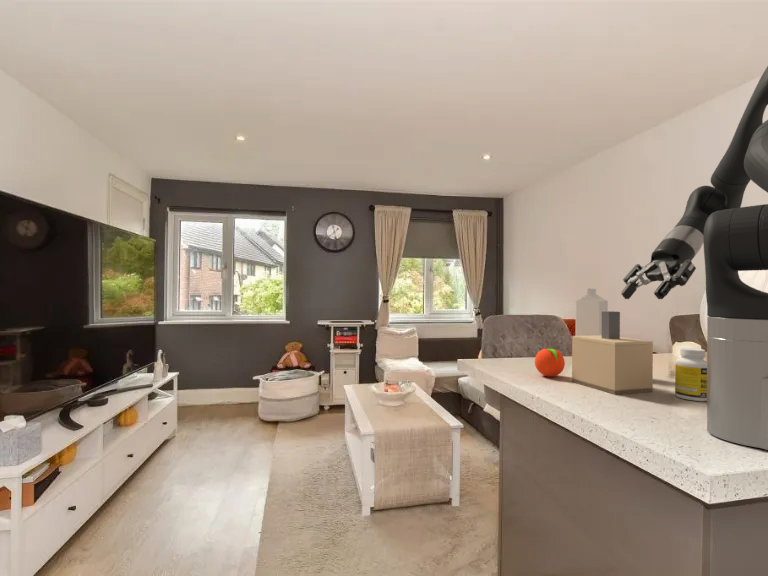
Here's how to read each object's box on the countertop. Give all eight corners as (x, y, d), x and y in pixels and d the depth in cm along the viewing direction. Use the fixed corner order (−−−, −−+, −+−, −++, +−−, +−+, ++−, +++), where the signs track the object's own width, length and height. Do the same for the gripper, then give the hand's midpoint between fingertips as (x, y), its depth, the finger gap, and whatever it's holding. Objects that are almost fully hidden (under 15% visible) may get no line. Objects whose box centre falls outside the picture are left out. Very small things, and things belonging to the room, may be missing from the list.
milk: (607, 372, 106) (608, 288, 106) (599, 375, 102) (600, 288, 102) (583, 368, 111) (584, 288, 111) (574, 371, 106) (575, 288, 107)
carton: (652, 391, 85) (652, 344, 85) (614, 394, 82) (614, 345, 82) (606, 379, 96) (606, 338, 97) (572, 381, 94) (572, 338, 94)
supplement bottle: (705, 403, 76) (705, 351, 76) (671, 397, 80) (671, 348, 80) (712, 399, 80) (712, 349, 80) (679, 393, 84) (679, 346, 84)
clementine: (571, 380, 95) (572, 350, 95) (542, 380, 95) (542, 350, 95) (557, 373, 103) (557, 346, 103) (530, 373, 103) (530, 345, 103)
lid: (652, 344, 85) (652, 312, 85) (614, 345, 82) (615, 313, 82) (606, 337, 97) (607, 310, 97) (572, 338, 94) (572, 310, 94)
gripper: (718, 257, 90) (679, 309, 86) (658, 262, 103) (623, 307, 100) (700, 232, 88) (660, 284, 85) (642, 241, 102) (605, 285, 99)
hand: (640, 296), depth 92 cm, fingers open, 8 cm apart
